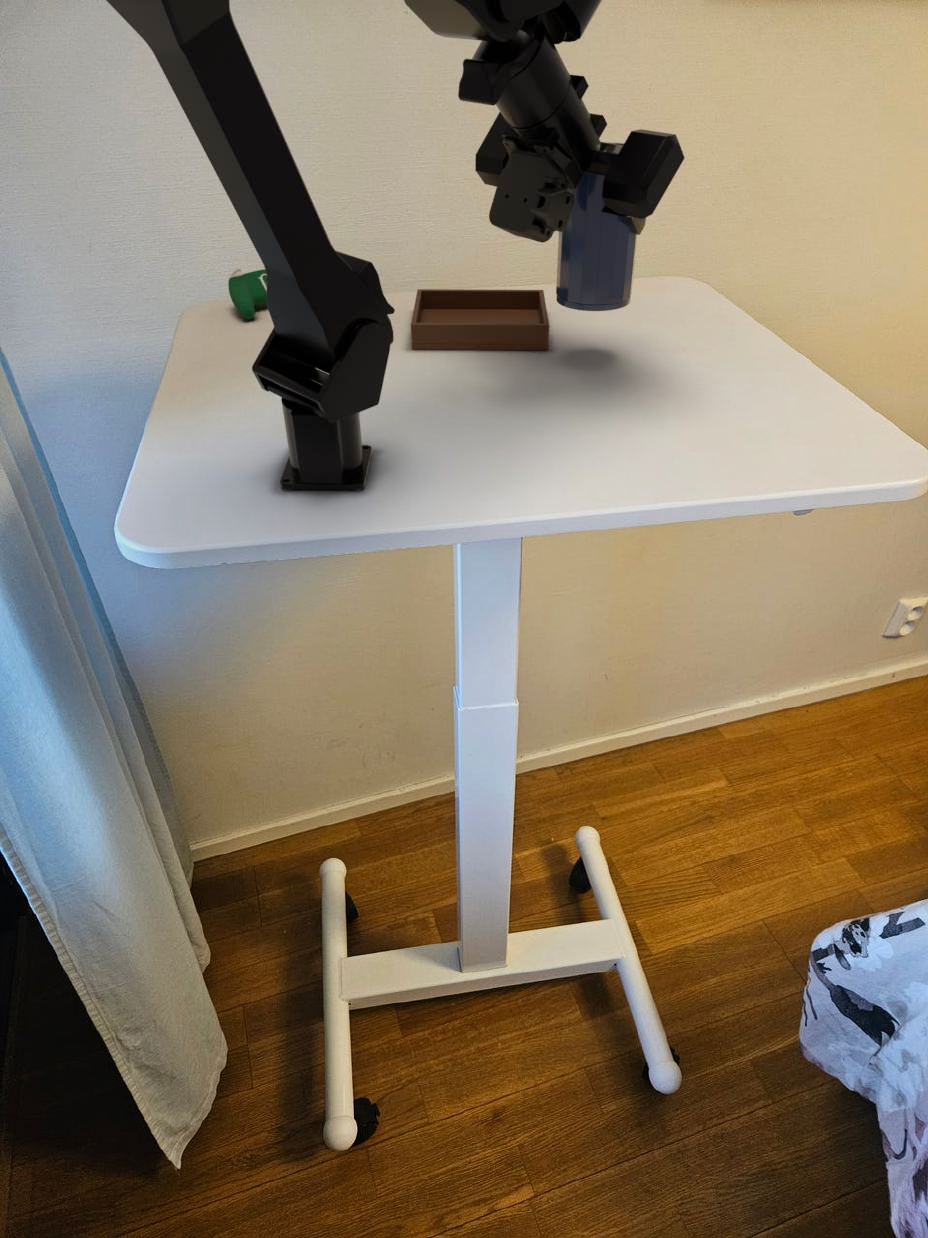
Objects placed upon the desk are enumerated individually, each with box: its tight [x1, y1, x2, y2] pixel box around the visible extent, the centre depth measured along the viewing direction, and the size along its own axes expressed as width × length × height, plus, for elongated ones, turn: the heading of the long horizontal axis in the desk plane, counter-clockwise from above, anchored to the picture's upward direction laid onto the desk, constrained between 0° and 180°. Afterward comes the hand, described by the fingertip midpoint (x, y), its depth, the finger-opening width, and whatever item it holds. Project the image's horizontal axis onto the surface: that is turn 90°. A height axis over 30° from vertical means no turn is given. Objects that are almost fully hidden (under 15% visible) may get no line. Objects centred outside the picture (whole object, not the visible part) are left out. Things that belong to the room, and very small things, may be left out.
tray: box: [410, 288, 550, 351], centre depth 91 cm, size 11×14×3 cm
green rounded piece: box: [228, 267, 267, 321], centre depth 96 cm, size 9×4×6 cm
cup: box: [555, 142, 638, 312], centre depth 78 cm, size 7×7×13 cm
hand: (607, 222), depth 79 cm, fingers closed on cup, 7 cm apart
